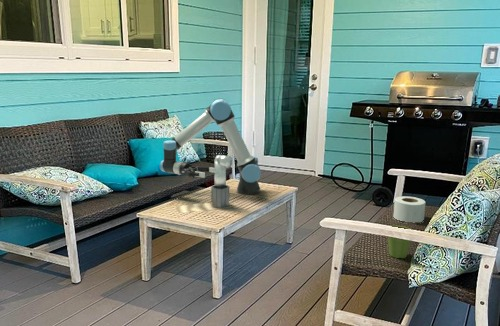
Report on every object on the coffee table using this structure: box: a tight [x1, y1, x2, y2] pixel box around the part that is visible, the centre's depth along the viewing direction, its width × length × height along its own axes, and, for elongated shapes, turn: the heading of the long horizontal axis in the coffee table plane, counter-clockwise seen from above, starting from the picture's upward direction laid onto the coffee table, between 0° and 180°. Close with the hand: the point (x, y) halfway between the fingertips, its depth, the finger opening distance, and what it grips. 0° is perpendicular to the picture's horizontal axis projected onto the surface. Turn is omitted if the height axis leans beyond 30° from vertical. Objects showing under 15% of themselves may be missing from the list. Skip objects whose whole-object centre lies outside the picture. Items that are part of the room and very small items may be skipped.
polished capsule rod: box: [213, 154, 233, 189], centre depth 245 cm, size 9×6×21 cm
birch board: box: [173, 202, 232, 214], centre depth 246 cm, size 30×13×2 cm, turn 113°
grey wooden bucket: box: [210, 184, 230, 209], centre depth 248 cm, size 10×10×11 cm
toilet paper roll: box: [392, 195, 427, 223], centre depth 233 cm, size 16×15×11 cm
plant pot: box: [387, 225, 413, 259], centre depth 185 cm, size 12×12×11 cm
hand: (211, 173), depth 248 cm, fingers open, 13 cm apart
